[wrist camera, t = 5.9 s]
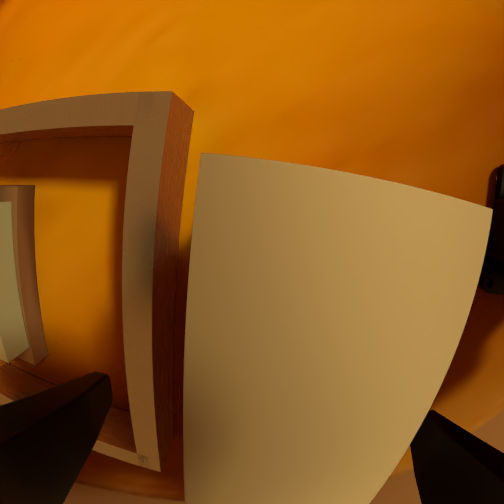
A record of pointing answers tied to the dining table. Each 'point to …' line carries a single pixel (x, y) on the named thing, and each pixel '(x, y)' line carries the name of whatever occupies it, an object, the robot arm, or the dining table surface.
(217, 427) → the sheet
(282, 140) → the dining table surface
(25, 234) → the offcut low
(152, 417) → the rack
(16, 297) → the offcut top
